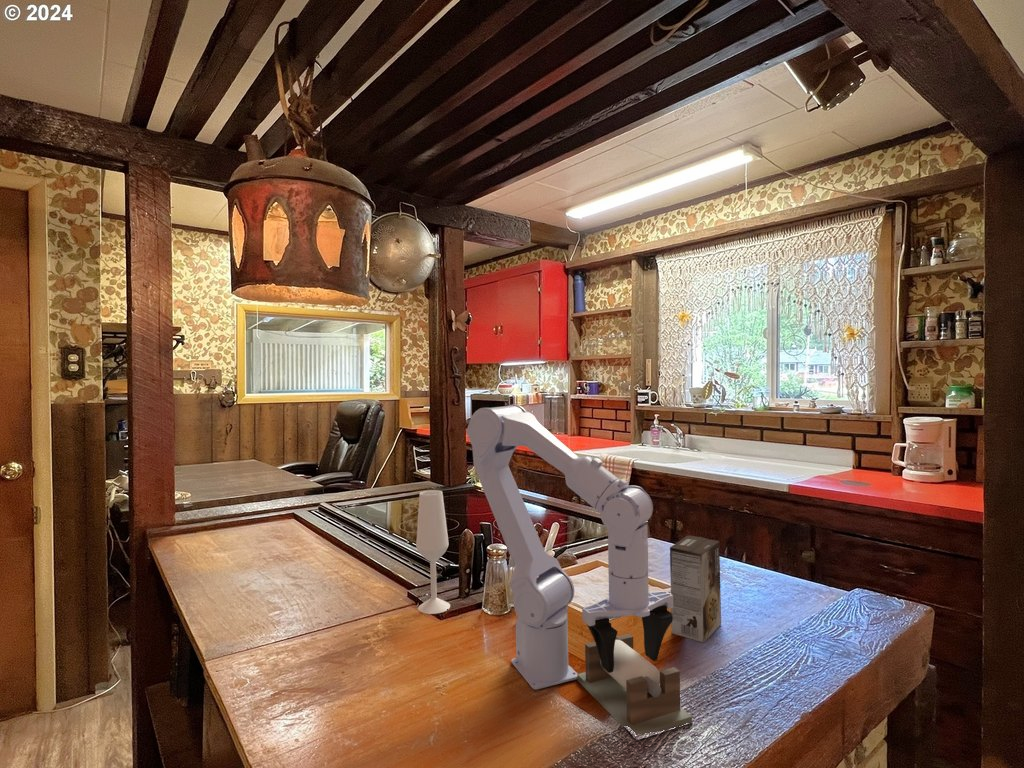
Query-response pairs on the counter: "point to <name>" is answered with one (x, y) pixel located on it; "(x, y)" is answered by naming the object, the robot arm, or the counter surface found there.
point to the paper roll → (634, 668)
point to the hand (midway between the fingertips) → (629, 663)
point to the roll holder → (634, 695)
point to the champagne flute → (432, 542)
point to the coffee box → (695, 587)
